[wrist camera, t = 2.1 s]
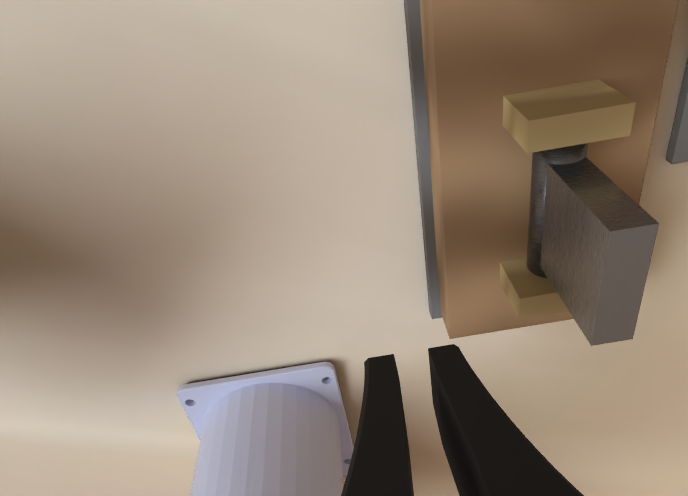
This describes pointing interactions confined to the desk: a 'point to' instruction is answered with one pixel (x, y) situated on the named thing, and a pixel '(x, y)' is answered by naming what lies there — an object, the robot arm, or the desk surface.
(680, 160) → the mat
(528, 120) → the body
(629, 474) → the desk surface
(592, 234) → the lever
